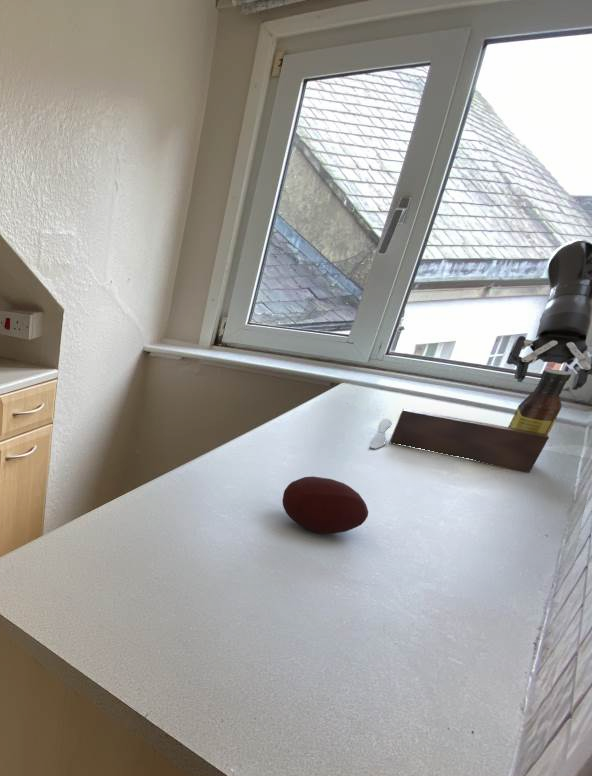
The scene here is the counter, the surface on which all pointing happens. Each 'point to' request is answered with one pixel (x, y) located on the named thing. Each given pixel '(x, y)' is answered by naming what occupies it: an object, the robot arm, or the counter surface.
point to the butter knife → (381, 434)
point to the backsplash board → (469, 439)
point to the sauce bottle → (541, 403)
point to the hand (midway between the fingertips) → (548, 383)
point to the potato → (324, 505)
